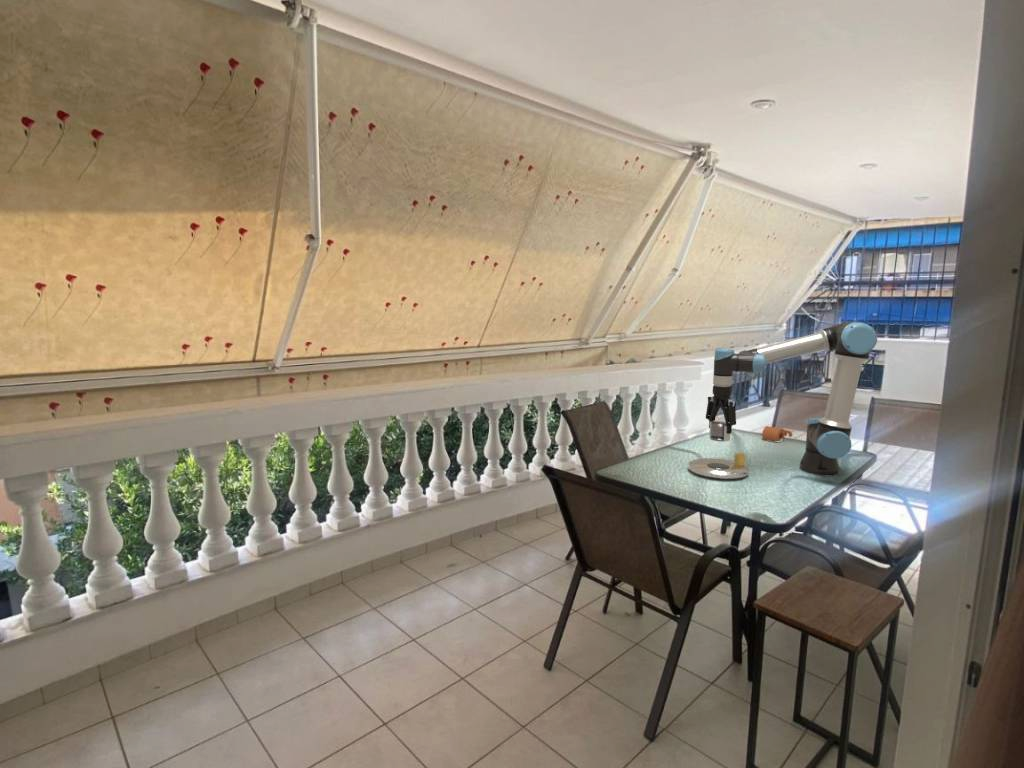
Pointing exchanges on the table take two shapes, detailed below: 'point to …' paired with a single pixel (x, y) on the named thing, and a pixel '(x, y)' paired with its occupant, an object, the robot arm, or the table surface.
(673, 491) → the table surface
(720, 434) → the cover
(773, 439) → the orange elongated piece
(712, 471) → the turntable
